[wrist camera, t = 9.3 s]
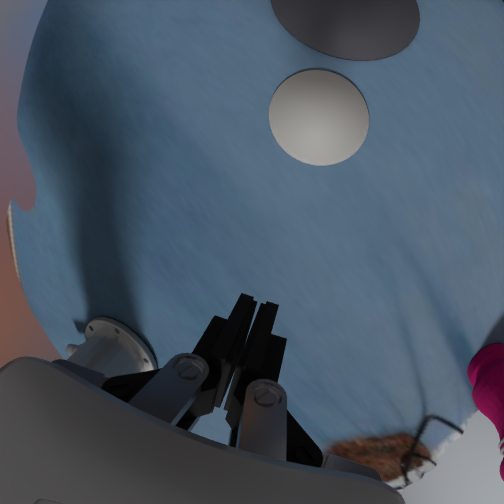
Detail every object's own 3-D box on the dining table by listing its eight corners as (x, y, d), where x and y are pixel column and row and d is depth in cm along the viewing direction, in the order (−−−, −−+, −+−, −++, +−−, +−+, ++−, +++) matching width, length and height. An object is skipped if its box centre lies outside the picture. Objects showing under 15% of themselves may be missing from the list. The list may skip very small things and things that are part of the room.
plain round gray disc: (279, 171, 23) (279, 172, 22) (260, 80, 20) (259, 79, 20) (376, 159, 20) (376, 159, 20) (356, 65, 18) (356, 64, 18)
